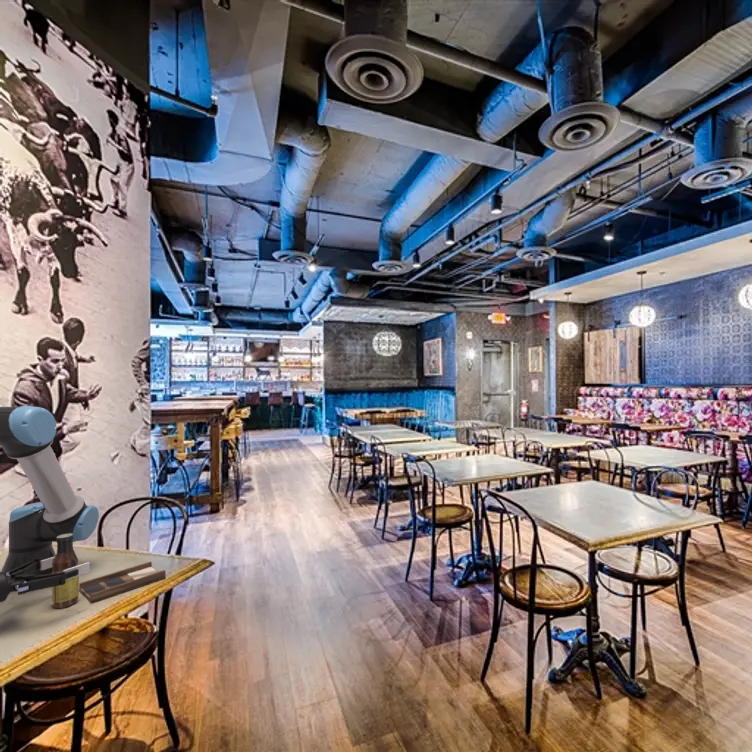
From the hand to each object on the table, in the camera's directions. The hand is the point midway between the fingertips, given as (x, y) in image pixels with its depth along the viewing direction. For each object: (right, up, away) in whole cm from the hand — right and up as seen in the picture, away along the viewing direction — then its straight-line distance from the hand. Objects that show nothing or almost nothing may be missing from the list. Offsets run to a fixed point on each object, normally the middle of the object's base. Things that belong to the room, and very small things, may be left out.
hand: (77, 562), depth 124 cm
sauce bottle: (-1, -11, -3) cm, 12 cm away
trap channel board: (+8, -11, +9) cm, 17 cm away
